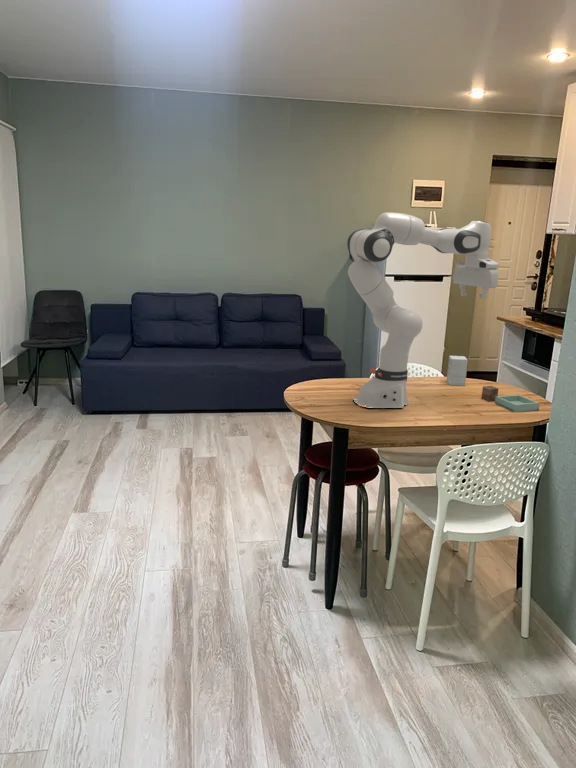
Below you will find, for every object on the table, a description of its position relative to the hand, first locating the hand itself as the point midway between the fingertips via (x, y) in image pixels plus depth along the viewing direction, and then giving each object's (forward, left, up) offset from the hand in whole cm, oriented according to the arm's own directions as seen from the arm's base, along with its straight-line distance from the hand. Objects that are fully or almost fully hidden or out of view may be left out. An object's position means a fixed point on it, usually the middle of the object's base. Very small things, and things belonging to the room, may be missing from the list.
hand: (472, 297), depth 235 cm
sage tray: (+16, -16, -43) cm, 48 cm away
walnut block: (+11, -5, -43) cm, 45 cm away
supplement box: (+12, +21, -43) cm, 50 cm away
